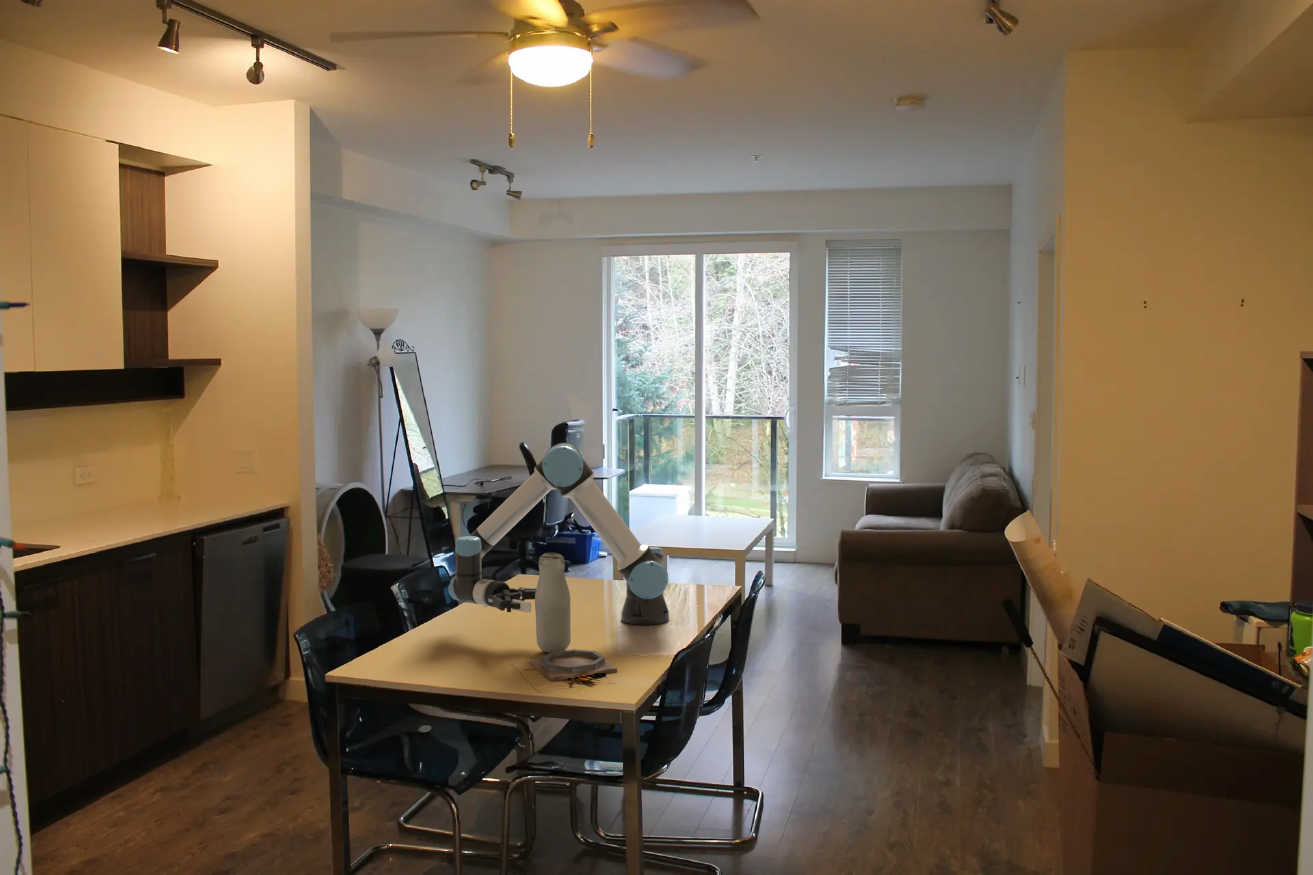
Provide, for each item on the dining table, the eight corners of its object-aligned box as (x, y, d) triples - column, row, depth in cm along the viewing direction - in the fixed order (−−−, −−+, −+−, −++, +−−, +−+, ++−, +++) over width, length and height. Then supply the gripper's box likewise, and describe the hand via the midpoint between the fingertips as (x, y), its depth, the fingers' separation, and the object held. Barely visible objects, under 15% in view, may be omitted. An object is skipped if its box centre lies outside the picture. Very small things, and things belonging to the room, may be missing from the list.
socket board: (592, 654, 272) (592, 645, 272) (617, 671, 256) (617, 662, 255) (530, 662, 264) (529, 653, 264) (551, 681, 248) (551, 671, 248)
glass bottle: (568, 646, 281) (567, 549, 279) (573, 655, 271) (571, 555, 269) (534, 648, 278) (532, 550, 277) (537, 658, 268) (535, 557, 267)
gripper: (522, 598, 297) (576, 607, 285) (461, 614, 277) (516, 625, 264) (521, 573, 296) (575, 581, 284) (460, 588, 276) (515, 597, 264)
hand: (547, 602), depth 274 cm, fingers open, 13 cm apart
